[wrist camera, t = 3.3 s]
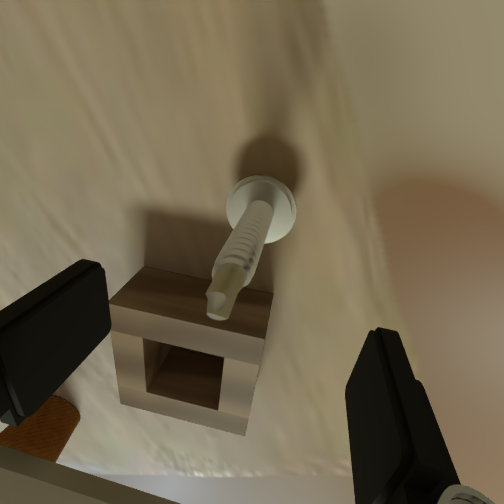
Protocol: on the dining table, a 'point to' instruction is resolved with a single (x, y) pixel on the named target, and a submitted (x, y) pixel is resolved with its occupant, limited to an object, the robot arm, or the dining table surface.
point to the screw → (248, 237)
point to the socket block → (184, 361)
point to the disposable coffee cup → (43, 430)
